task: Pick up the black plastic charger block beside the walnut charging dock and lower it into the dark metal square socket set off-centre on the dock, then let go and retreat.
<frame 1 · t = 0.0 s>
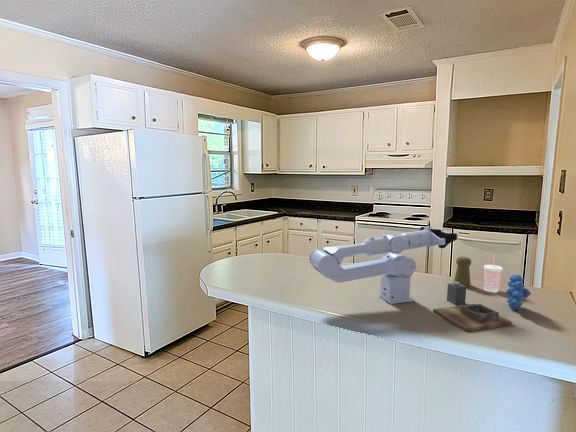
hand: (448, 234, 126), 22 cm above the countertop, tool horizontal, fingers open, 7 cm apart
beverage cup: (491, 290, 132), on the countertop
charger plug: (455, 302, 121), on the countertop
grapes: (517, 310, 114), on the countertop
cork: (461, 285, 138), on the countertop
charging dock: (470, 318, 108), on the countertop
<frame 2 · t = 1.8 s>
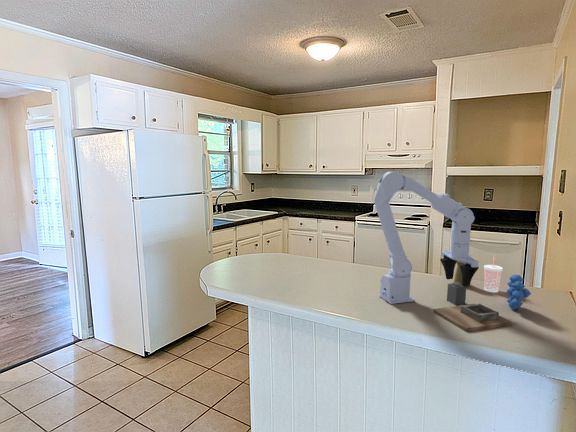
hand: (457, 282, 120), 7 cm above the countertop, tool pointing down, fingers open, 7 cm apart
nothing on the countertop moved.
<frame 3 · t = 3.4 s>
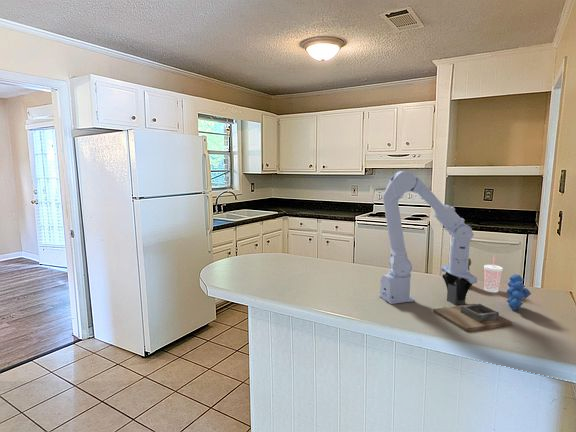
hand: (456, 297, 120), 2 cm above the countertop, tool pointing down, fingers closed on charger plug, 4 cm apart
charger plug: (455, 302, 121), on the countertop, touching gripper
everything else where it was.
when the fingers open (4 cm above the countertop, at t = 7.2 s): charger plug drops 1 cm, resting on charging dock.
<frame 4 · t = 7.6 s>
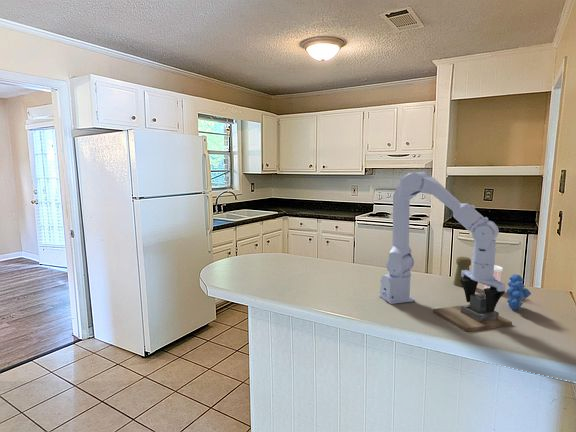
hand: (479, 306, 107), 4 cm above the countertop, tool pointing down, fingers open, 7 cm apart
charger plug: (479, 315, 107), point 1 cm above the countertop, touching charging dock
everything else where it was.
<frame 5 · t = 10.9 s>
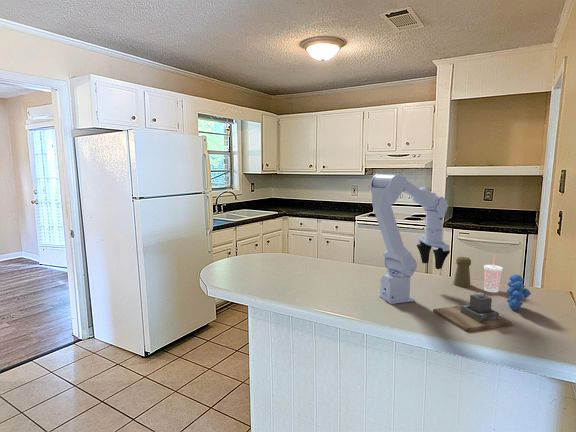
hand: (431, 265, 130), 9 cm above the countertop, tool pointing down, fingers open, 7 cm apart
nothing on the countertop moved.
at the end: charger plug 0.1 cm from the target spot on the charging dock, point 1.0 cm above the charging dock's base; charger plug tilted 0°; the gripper is holding nothing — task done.
